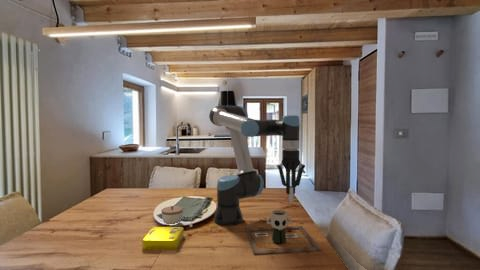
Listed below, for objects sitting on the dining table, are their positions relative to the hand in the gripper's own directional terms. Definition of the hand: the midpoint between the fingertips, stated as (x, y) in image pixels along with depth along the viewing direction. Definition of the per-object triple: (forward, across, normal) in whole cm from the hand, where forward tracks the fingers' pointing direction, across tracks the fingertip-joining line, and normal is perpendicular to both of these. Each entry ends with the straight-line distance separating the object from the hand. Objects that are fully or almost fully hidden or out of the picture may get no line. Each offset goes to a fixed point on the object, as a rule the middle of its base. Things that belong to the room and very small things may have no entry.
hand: (290, 200), depth 127 cm
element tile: (+17, -57, +1) cm, 60 cm away
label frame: (+16, -6, -3) cm, 18 cm away
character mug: (+17, -7, -5) cm, 19 cm away
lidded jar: (+17, -56, +22) cm, 62 cm away
